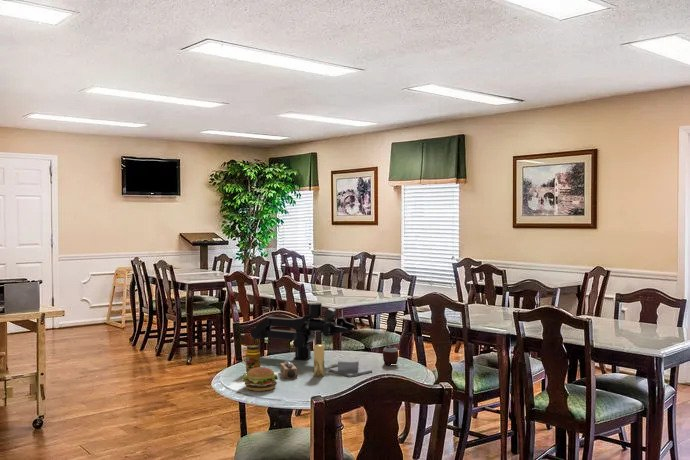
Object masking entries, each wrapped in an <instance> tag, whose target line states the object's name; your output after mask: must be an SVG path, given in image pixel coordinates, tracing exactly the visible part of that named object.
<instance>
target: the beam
mask: <svg viewBox="0 0 690 460" xmlns="http://www.w3.org/2000/svg"><path fill="white" fill-rule="evenodd" d="M289 362H290V361H289ZM290 363H291V364H292V368H289V367H288V366H287V364H286V363H285V362H280V368H279V370H280V374H281V375H282V376H283V378H284V379H285V380H288V379H289V380H290V379H298V368H297V367H296V366H295V364H294V363H293V362H290Z"/></svg>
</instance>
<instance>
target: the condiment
mask: <svg viewBox="0 0 690 460" xmlns="http://www.w3.org/2000/svg"><path fill="white" fill-rule="evenodd" d="M257 367H261V352H260V345H257V344H256V345H254V344H252V345H251V344H250V345H247V346H246V353H245V368H246V369H245V371H246V372H248V371H249V370H251V369H253V368H257ZM246 374H247V373H246Z"/></svg>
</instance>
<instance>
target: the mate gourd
mask: <svg viewBox="0 0 690 460" xmlns="http://www.w3.org/2000/svg"><path fill="white" fill-rule="evenodd" d="M383 332H384V334H385V336H386V340H387V345H388V346H385V347H384V348H383V351H382V360H383V365H384V364H388V365H387V367H391V366H392V365H391V364H397V365H398V360H399V351H398V348H397V347H396V346H392V345H390V339H389V335H388V333H387V332H386V331H385V330H383ZM390 365H391V366H390Z"/></svg>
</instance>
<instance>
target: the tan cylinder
mask: <svg viewBox="0 0 690 460" xmlns="http://www.w3.org/2000/svg"><path fill="white" fill-rule="evenodd" d="M313 377H315V378H323V377H325V345H324V344H314V345H313Z"/></svg>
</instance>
